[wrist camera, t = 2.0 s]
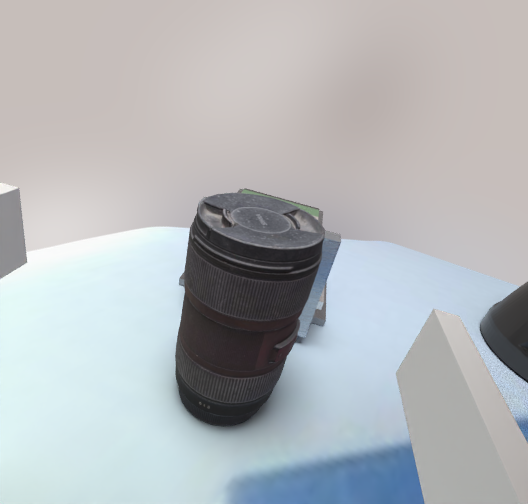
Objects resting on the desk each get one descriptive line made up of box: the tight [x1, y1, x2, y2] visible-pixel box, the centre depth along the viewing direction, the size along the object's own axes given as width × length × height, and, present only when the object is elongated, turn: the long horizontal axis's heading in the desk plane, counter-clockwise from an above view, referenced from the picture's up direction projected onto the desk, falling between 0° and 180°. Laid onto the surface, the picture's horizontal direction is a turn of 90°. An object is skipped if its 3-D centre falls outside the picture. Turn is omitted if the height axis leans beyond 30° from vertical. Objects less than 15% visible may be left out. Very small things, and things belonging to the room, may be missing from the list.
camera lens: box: [175, 193, 325, 426], centre depth 24 cm, size 8×8×15 cm
